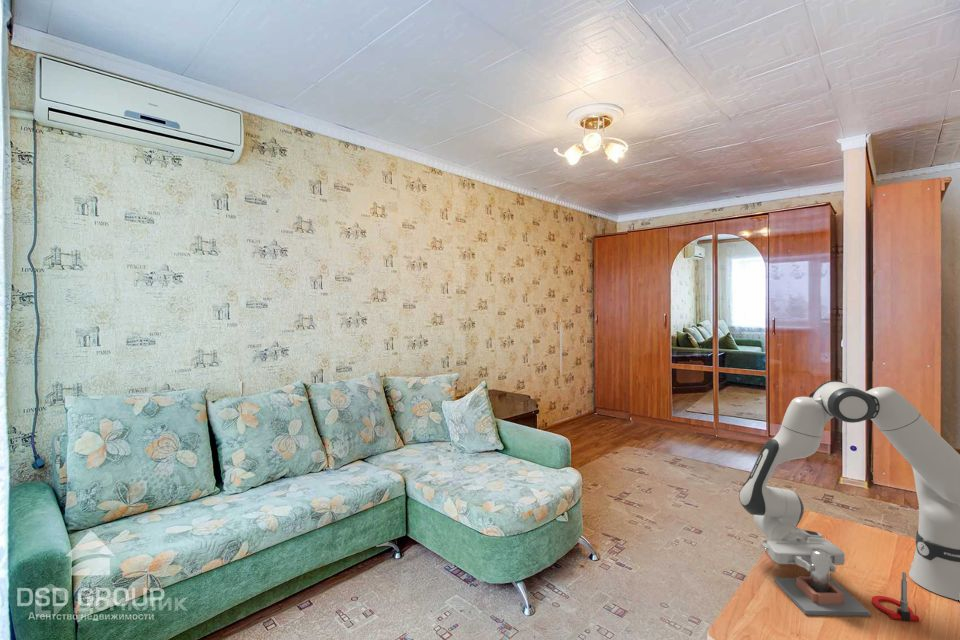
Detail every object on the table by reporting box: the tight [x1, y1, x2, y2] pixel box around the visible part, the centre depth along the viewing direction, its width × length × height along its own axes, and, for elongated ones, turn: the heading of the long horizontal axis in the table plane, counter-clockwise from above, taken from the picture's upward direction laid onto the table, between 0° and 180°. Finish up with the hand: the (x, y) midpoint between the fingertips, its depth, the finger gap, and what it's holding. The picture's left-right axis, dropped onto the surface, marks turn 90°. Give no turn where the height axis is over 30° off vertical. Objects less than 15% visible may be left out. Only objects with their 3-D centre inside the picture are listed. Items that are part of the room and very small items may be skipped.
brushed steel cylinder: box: [809, 548, 831, 593], centre depth 128 cm, size 4×4×12 cm
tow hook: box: [870, 571, 920, 622], centre depth 123 cm, size 8×13×9 cm
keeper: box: [773, 575, 871, 617], centre depth 128 cm, size 17×14×4 cm
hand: (822, 569), depth 127 cm, fingers open, 4 cm apart
